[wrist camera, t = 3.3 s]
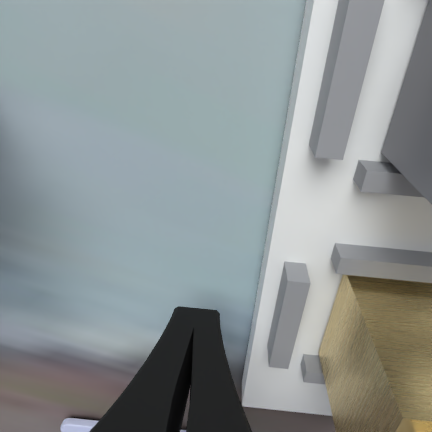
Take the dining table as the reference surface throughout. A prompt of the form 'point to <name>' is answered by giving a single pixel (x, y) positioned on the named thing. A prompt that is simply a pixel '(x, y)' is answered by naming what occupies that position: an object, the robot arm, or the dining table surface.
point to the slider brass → (379, 355)
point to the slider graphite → (414, 115)
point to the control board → (334, 195)
